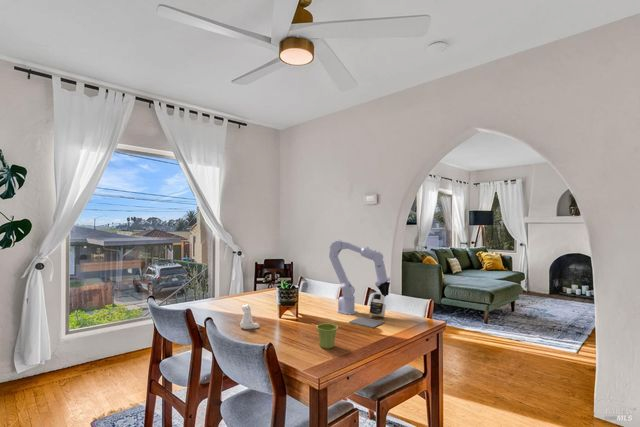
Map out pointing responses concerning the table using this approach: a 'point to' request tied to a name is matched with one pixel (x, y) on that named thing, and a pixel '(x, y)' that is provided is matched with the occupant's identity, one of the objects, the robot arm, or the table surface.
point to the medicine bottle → (378, 306)
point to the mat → (366, 322)
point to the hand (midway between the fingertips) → (385, 295)
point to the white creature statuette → (247, 319)
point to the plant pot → (327, 335)
